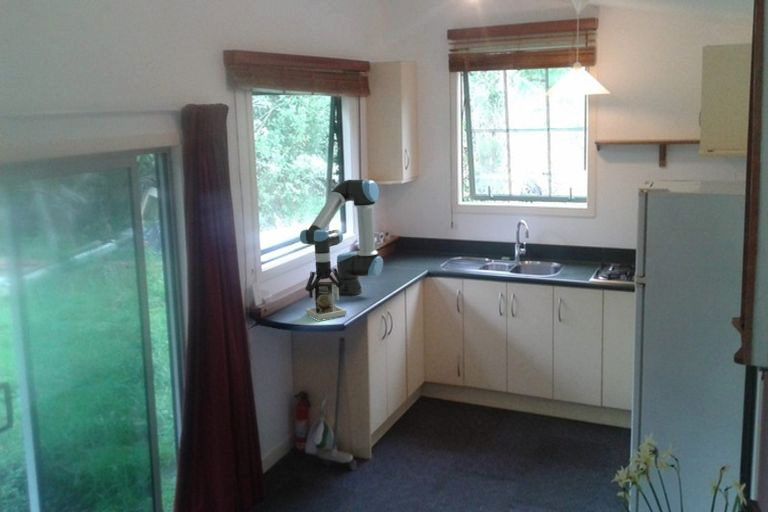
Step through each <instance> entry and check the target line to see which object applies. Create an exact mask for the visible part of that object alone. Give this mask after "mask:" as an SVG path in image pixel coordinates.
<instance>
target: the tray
mask: <svg viewBox="0 0 768 512" xmlns="http://www.w3.org/2000/svg"><path fill="white" fill-rule="evenodd" d="M305 314H306V316H308V317H310V316H311V317H310V318H312V317H313V318H312V319H314V318H315V319H317V320H323V319H328V320H330V319H329V318H333V319H336V318H335V317H338V318H341V317H340V316H344V317H346V316H347V309H345V308H342V307H340V306H338V305H336V312H330V313H325V314H318V313H316V306H315V307H310V308H309V307H308V308H305ZM345 315H346V316H345ZM315 319H314V320H315ZM317 320H316V321H317ZM323 321H324V320H323Z"/></svg>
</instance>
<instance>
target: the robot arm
mask: <svg viewBox="0 0 768 512" xmlns="http://www.w3.org/2000/svg"><path fill="white" fill-rule="evenodd" d="M379 193H380V191H379V187H378V184H377V183H376V182H375V181H374V180H372V179H346V180H343V181H342V182H340V183H339V184H337V185H336V186H335V187H334V188H333V189H332V190H331V191H330V193H329V196H328V197H329V198H328V200H327V201H326V202H325V204H324V205H323V207H322V208H321V210H320V212H318V214H317V215H316V216H315V217H316V218H315V219H314V220H313V222H312V223H311V225H310V226H309V228H308V229H307V228H306V229H303V230H301V232H300V233H299V240H300V242H301V243H302V244H303V245H312V246H313V245H314V258H315V259H314V260H315V271H310V273H309V278H308V280H307V284H306V286H305V288H304V290H305V291H307V292H308V295H309V296H308V297H309V298H310V300H311V301H310V302H311V304H312V305H316V298H315V287H316V285H317V284H318V282H321V280H326V279H329V280H330V282H334V283H335V300H337V301H340V296H341V297H342V296H343V297H349V296H350V297H352V296H357V295H360V294H362V293H363V288H362V285H361V282H360V280H359V277H368V278H377V277H378V276H380V274H381V273H382V270H383V266H384V260H383V258H382V257H381V256H380V255H379V251H378V250H377V249H376V242H375V241H376V239H375V225H374V211H373V210H374V209H373V207H374V206H375V204H376V202H377V201H378V200H379V195H380V194H379ZM346 202H353V206H354V207H355V208H356V213H357V214H356V215H357V230H358V241H359V242H358V243H359V251H358V252H357V251H351V252H350V251H349V252H344V253H340V254H338V255H337V256H336V268H335V267H333V268H331V267H332V264H331V251H330V250H331V247H334V246H338V245H339V244H341V243H342V242H343V240H344V235H343V233H342V232H341V231H340V230H339V229H332V230H328V229H327V228H328V226H329V224H330V223H331V221H332V220H333V219H334V218H335V216H336V214H337V212H338V211H339V210H340V208H341V207H343V206H344V205H345V204H346ZM331 274H333V275H334V277H335V278H334V277H333V276H332V275H331Z"/></svg>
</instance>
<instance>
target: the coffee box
mask: <svg viewBox="0 0 768 512" xmlns="http://www.w3.org/2000/svg"><path fill="white" fill-rule="evenodd" d="M335 287H336V285H335V283H334V282H332V281H319V282H318V284H317V285H316V287H315V288H314V296H315V307H316V313H318V314H325V313H330V312H336V306H337V305H336V297H335Z"/></svg>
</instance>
